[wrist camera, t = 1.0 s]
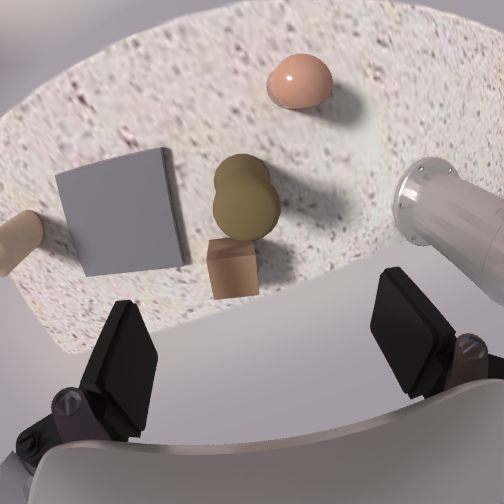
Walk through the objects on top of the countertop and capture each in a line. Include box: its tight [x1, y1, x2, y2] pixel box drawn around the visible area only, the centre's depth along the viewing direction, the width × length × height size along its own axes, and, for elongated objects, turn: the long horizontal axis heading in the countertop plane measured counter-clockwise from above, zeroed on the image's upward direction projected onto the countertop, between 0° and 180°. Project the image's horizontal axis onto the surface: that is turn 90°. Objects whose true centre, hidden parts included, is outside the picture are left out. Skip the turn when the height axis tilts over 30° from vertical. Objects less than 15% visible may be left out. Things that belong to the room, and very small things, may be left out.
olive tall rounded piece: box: [213, 154, 281, 241], centre depth 25 cm, size 6×6×11 cm
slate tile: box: [55, 147, 184, 277], centre depth 30 cm, size 14×14×1 cm
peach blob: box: [267, 54, 333, 109], centre depth 22 cm, size 5×5×6 cm
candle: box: [0, 210, 44, 277], centre depth 25 cm, size 6×6×10 cm
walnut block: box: [206, 238, 259, 300], centre depth 31 cm, size 5×5×5 cm
